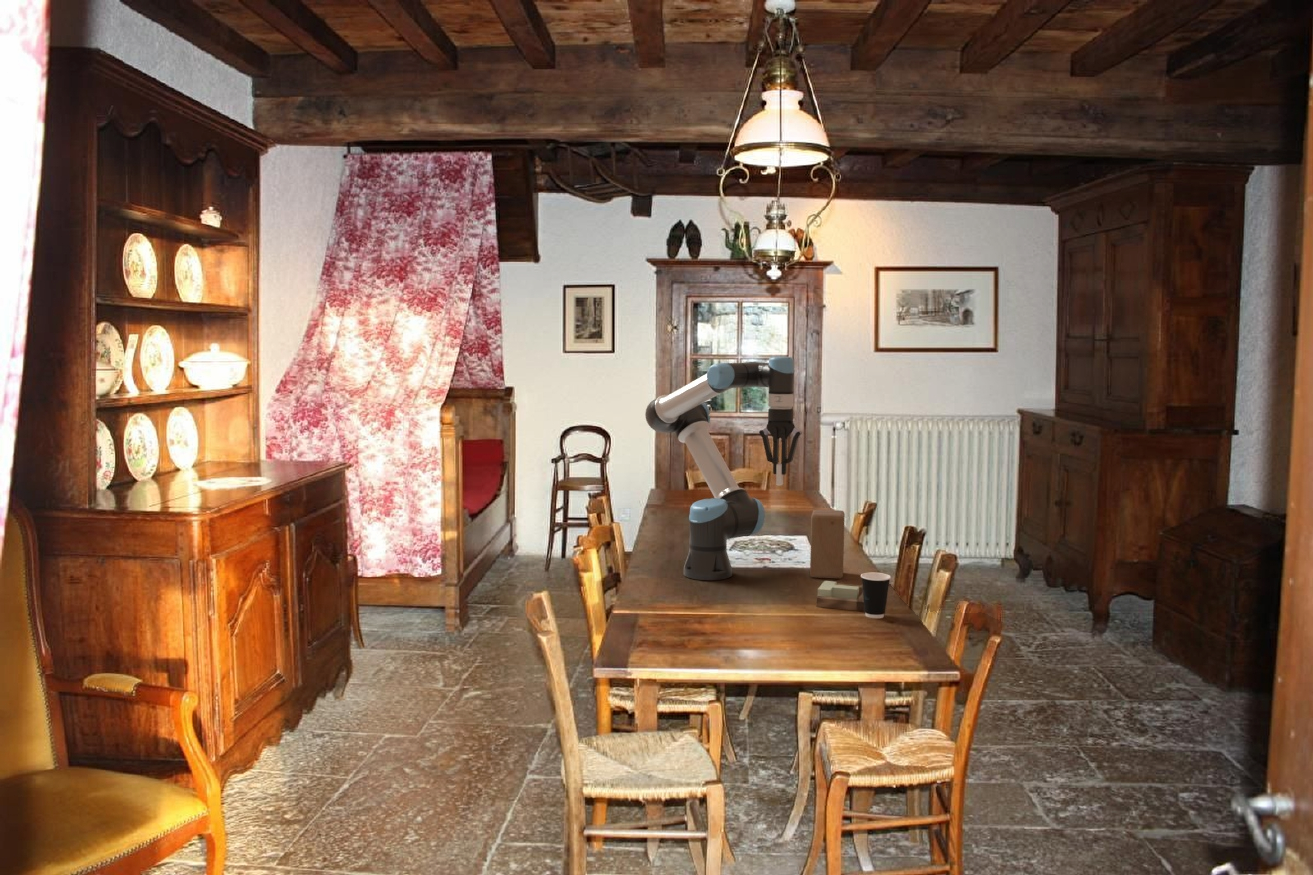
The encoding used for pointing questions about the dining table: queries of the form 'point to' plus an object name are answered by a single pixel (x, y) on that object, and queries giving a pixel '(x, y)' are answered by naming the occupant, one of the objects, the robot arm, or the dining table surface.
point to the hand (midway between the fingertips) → (779, 485)
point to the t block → (838, 590)
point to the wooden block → (827, 544)
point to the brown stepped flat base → (842, 601)
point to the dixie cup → (875, 593)
